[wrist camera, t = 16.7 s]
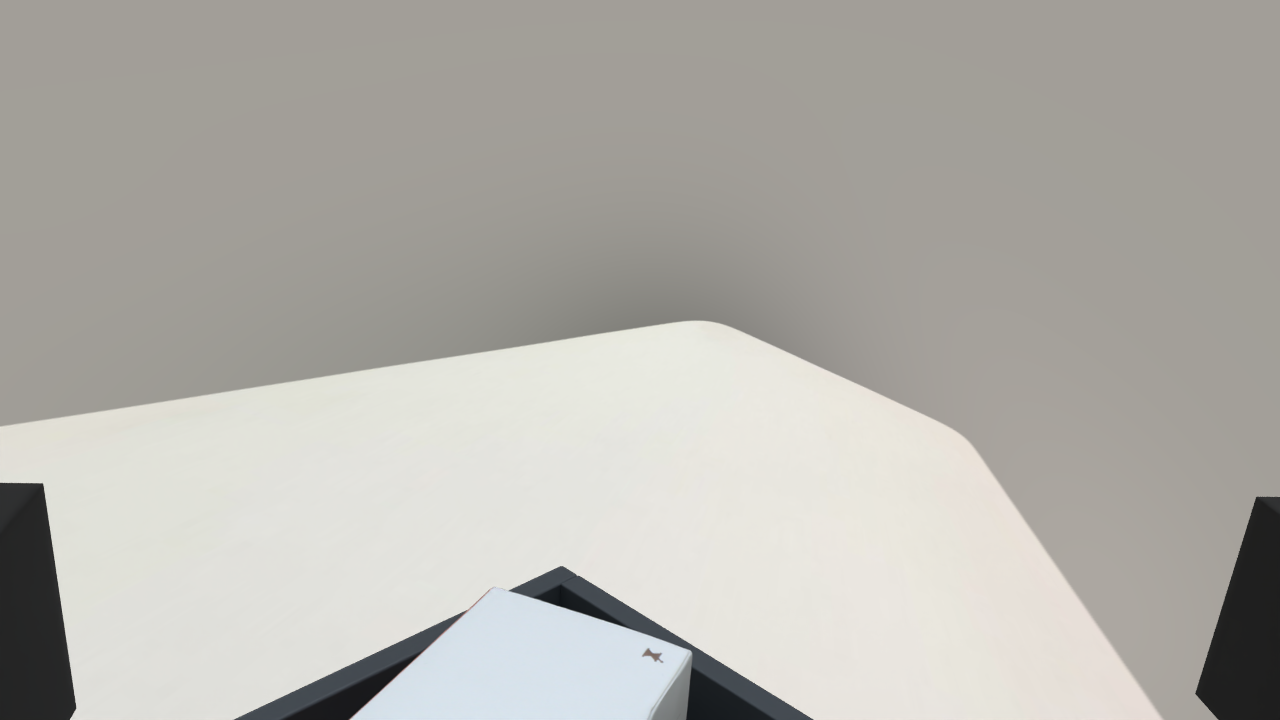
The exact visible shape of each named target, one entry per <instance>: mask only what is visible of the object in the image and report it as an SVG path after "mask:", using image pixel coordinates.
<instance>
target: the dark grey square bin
mask: <svg viewBox="0 0 1280 720" xmlns="http://www.w3.org/2000/svg"><path fill="white" fill-rule="evenodd" d="M509 591H510V592H514V593H517V594H521V595H524V596H527V597H530V598H534V599H537V600H540V601H543V602H546V603H550V604H553V605H556V606H559V607H563V608H566V609H569V610H572V611H575V612H579V613H582V614H585V615H588V616H591V617H594V618H597V619H600V620H603V621H607V622H610V623H613V624H616V625H619V626H622V627H625V628H628V629H631V630H634V631H637V632H640V633H643V634H646V635H649V636H652V637H655V638H657V639H660V640H663V641H666V642H668V643H671V644H674V645H677V646H679V647H682V648H685V649H688V650H690V651H691V652H692V665H691V675H690V685H689V696H688V706H687V716H686V720H813V719H812V718H810V717H808V716H807V715H805V714H803V713H802V712H800V711H798V710H797V709H795V708H794V707H792V706H790V705H789V704H787V703H785V702H784V701H782V700H781V699H779V698H777V697H776V696H774V695H772V694H771V693H769V692H768V691H766V690H764V689H763V688H761V687H759V686H758V685H756V684H755V683H753V682H751V681H750V680H748V679H746V678H745V677H743V676H741V675H740V674H738V673H737V672H735V671H733V670H732V669H730V668H728V667H727V666H725V665H724V664H722V663H720V662H719V661H717V660H715V659H714V658H712V657H711V656H709V655H707V654H706V653H704V652H702V651H701V650H699V649H698V648H696V647H694V646H693V645H691V644H689V643H688V642H686V641H684V640H683V639H681V638H680V637H678V636H676V635H675V634H673V633H671V632H670V631H668V630H667V629H665V628H663V627H662V626H660V625H658V624H657V623H655V622H654V621H652V620H650V619H649V618H647V617H645V616H644V615H642V614H641V613H639V612H637V611H636V610H634V609H632V608H631V607H629V606H627V605H626V604H624V603H623V602H621V601H619V600H618V599H616V598H614V597H613V596H611V595H610V594H608V593H606V592H605V591H603V590H601V589H600V588H598V587H597V586H595V585H593V584H592V583H590V582H588V581H587V580H585V579H584V578H582V577H580V576H577V575H576V574H575V573H573V572H571V571H570V570H568V569H566V568H565V567H563V566H560V567H558V568H556V569H554V570H552V571H549V572H547V573H545V574H543V575H541V576H539V577H537V578H535V579H532V580H530V581H528V582H526V583H524V584H522V585H520V586H517V587H515V588H513V589H511V590H509ZM466 611H467V610H466ZM466 611H464V612H462V613H460V614H458V615H456V616H454V617H451V618H449V619H447V620H445V621H443V622H441V623H439V624H437V625H434V626H432V627H430V628H428V629H426V630H424V631H422V632H420V633H417V634H415V635H413V636H411V637H409V638H407V639H405V640H403V641H400V642H398V643H396V644H394V645H392V646H390V647H388V648H385V649H383V650H381V651H379V652H377V653H375V654H373V655H371V656H368V657H366V658H364V659H362V660H360V661H358V662H356V663H354V664H351V665H349V666H347V667H345V668H343V669H341V670H339V671H336V672H334V673H332V674H330V675H328V676H326V677H324V678H322V679H319V680H317V681H315V682H313V683H311V684H309V685H307V686H305V687H302V688H300V689H298V690H296V691H294V692H292V693H290V694H288V695H285V696H283V697H281V698H279V699H277V700H275V701H273V702H270V703H268V704H266V705H264V706H262V707H260V708H258V709H256V710H253V711H251V712H249V713H247V714H245V715H243V716H241V717H239V718H236V719H234V720H349V719H350V718H351V717H352V716H353V715H355V714H356V713H357V712H358V711H359V710H360V709H361V708H362V707H363V706H364V705H365V704H367V703H368V702H369V701H370V700H371V699H372V698H373V697H374V696H375V695H376V694H377V693H379V692H380V691H381V690H382V689H383V688H384V687H385V686H386V685H387V684H388V683H389V682H390V681H392V680H393V679H394V678H395V677H396V676H397V675H398V674H399V673H400V672H401V671H402V670H403V669H404V668H406V667H407V666H408V665H409V664H410V663H411V662H412V661H413V660H414V659H415V658H417V657H418V656H419V655H420V654H421V653H422V652H423V651H424V650H425V649H426V648H427V647H428V646H430V645H431V644H432V643H433V642H434V641H435V640H436V639H437V638H438V637H439V636H440V635H441V634H442V633H443V632H444V631H445V630H447V629H448V628H449V627H450V626H451V625H452V624H453V623H454V622H455V621H456V620H458V619H459V618H460V617H461V616H462V615H463V614H464V613H465V612H466Z"/></svg>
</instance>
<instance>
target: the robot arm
mask: <svg viewBox="0 0 1280 720" xmlns="http://www.w3.org/2000/svg"><path fill="white" fill-rule="evenodd" d="M1195 694H1196V695H1197V696H1198V697H1199V698H1200V700H1201V701H1202V702H1203V703H1204V704H1205V705H1206V706H1207V707H1208V709H1209V710H1210V711H1211V712H1212V713H1213V714H1214V715H1215V716H1216V718H1217V719H1218V720H1280V497H1256V500H1255V503H1254V506H1253V509H1252V513H1251V516H1250V519H1249V523H1248V525H1247V529H1246V532H1245V535H1244V538H1243V542H1242V545H1241V548H1240V551H1239V555H1238V558H1237V561H1236V564H1235V567H1234V571H1233V574H1232V577H1231V580H1230V584H1229V587H1228V590H1227V593H1226V596H1225V600H1224V603H1223V606H1222V609H1221V613H1220V616H1219V620H1218V623H1217V626H1216V629H1215V632H1214V636H1213V638H1212V642H1211V645H1210V648H1209V651H1208V655H1207V658H1206V661H1205V664H1204V668H1203V671H1202V674H1201V677H1200V680H1199V684H1198V687H1197V690H1196V693H1195ZM75 710H76V703H75V696H74V689H73V682H72V676H71V669H70V662H69V655H68V648H67V642H66V635H65V628H64V621H63V615H62V608H61V601H60V594H59V588H58V581H57V574H56V567H55V560H54V554H53V547H52V540H51V533H50V527H49V520H48V513H47V506H46V500H45V493H44V486H43V483H0V720H70V718H71V717H72V715H73V713H74V711H75Z"/></svg>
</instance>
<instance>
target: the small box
mask: <svg viewBox="0 0 1280 720" xmlns="http://www.w3.org/2000/svg"><path fill="white" fill-rule="evenodd" d="M691 665H692V652H691V651H690V650H688V649H685V648H682V647H679V646H677V645H674V644H671V643H668V642H666V641H663V640H660V639H657V638H655V637H652V636H649V635H646V634H643V633H640V632H637V631H634V630H631V629H628V628H625V627H622V626H619V625H616V624H613V623H610V622H607V621H603V620H600V619H597V618H594V617H591V616H588V615H585V614H582V613H579V612H575V611H572V610H569V609H566V608H563V607H559V606H556V605H553V604H550V603H546V602H543V601H540V600H537V599H534V598H530V597H527V596H524V595H521V594H517V593H514V592H510V591H507V590H504V589H501V588H498V587H493V588H491V589H490V590H489V591H488V592H487V593H486V594H485V595H483V596H482V597H481V598H480V599H479V600H478V601H477V602H476V603H475V604H474V605H473V606H472V607H471V608H470V609H468V610H467V611H466V612H465V613H464V614H463V615H462V616H461V617H460V618H459V619H458V620H456V621H455V622H454V623H453V624H452V625H451V626H450V627H449V628H448V629H447V630H445V631H444V632H443V633H442V634H441V635H440V636H439V637H438V638H437V639H436V640H435V641H434V642H433V643H432V644H431V645H430V646H428V647H427V648H426V649H425V650H424V651H423V652H422V653H421V654H420V655H419V656H418V657H417V658H415V659H414V660H413V661H412V662H411V663H410V664H409V665H408V666H407V667H406V668H404V669H403V670H402V671H401V672H400V673H399V674H398V675H397V676H396V677H395V678H394V679H393V680H392V681H390V682H389V683H388V684H387V685H386V686H385V687H384V688H383V689H382V690H381V691H380V692H379V693H377V694H376V695H375V696H374V697H373V698H372V699H371V700H370V701H369V702H368V703H367V704H365V705H364V706H363V707H362V708H361V709H360V710H359V711H358V712H357V713H356V714H355V715H353V716H352V717H351V718H350V719H349V720H686V716H687V706H688V696H689V685H690V675H691Z"/></svg>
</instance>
